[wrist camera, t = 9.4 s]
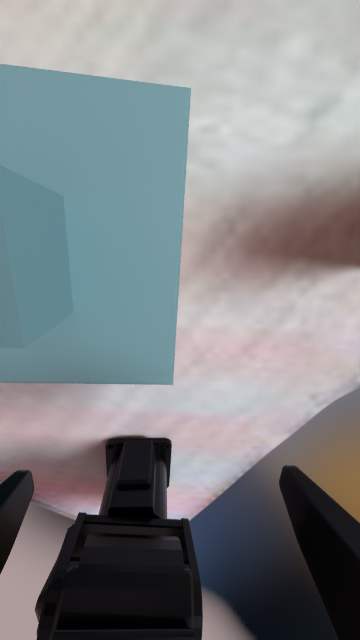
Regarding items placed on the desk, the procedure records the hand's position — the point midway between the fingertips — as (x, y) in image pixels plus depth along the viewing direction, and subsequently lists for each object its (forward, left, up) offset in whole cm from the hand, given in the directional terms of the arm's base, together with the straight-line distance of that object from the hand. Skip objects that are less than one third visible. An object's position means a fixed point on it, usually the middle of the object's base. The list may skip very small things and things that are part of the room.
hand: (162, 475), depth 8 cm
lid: (+7, +6, -6) cm, 11 cm away
